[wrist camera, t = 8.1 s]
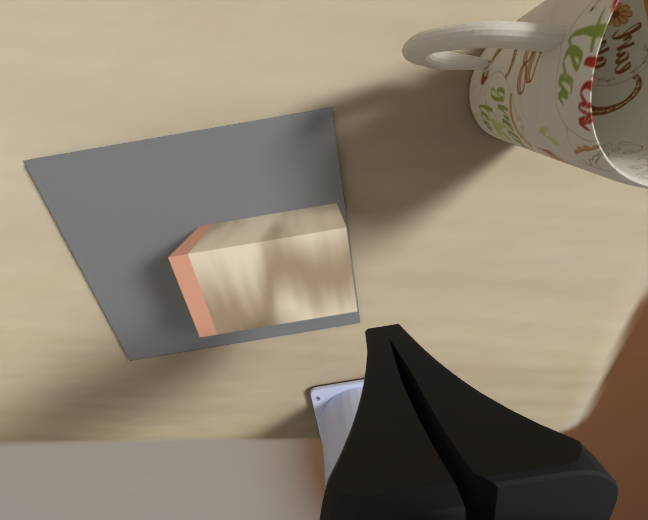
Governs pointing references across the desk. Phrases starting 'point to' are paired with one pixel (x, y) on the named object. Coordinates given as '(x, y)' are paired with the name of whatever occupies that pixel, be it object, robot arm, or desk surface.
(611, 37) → the mug
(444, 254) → the desk surface
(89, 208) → the mat
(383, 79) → the desk surface
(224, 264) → the block
